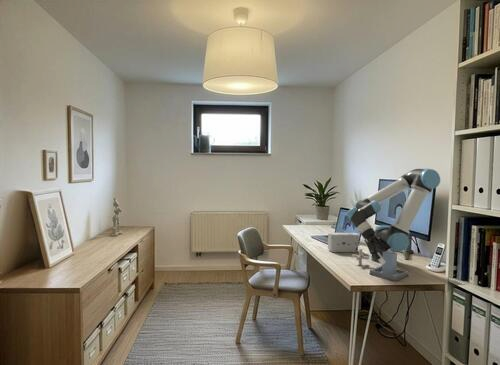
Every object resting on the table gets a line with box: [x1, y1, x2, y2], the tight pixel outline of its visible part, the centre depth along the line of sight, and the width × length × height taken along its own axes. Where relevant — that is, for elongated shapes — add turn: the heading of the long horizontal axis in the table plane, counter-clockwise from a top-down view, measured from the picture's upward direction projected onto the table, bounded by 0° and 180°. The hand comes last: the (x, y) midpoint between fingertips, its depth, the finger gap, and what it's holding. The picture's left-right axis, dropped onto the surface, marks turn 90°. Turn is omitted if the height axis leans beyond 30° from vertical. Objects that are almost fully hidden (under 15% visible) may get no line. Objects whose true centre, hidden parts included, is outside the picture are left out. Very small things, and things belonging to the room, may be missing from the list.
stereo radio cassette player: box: [327, 224, 360, 253], centre depth 240 cm, size 21×8×20 cm, turn 94°
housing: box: [369, 265, 409, 282], centre depth 188 cm, size 15×15×2 cm
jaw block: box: [381, 250, 398, 276], centre depth 188 cm, size 5×6×13 cm
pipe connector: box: [351, 248, 370, 266], centre depth 207 cm, size 10×10×10 cm
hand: (389, 261), depth 187 cm, fingers open, 13 cm apart
